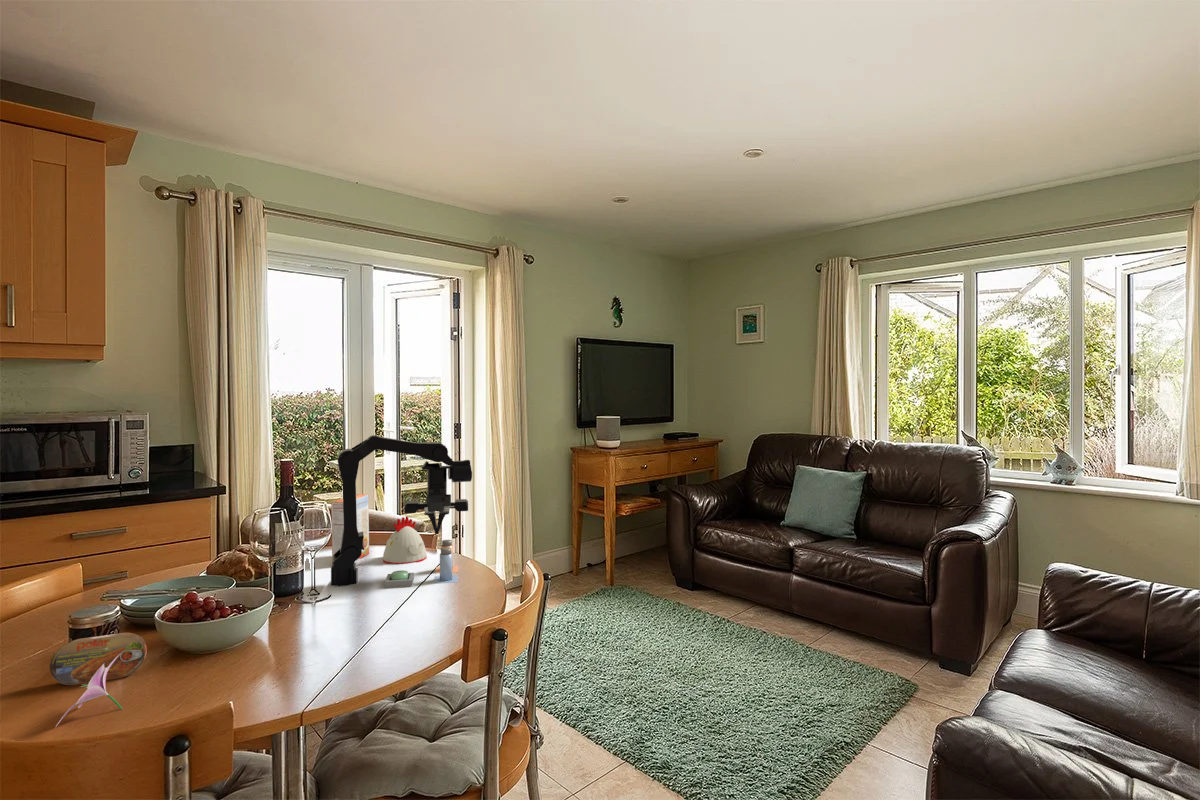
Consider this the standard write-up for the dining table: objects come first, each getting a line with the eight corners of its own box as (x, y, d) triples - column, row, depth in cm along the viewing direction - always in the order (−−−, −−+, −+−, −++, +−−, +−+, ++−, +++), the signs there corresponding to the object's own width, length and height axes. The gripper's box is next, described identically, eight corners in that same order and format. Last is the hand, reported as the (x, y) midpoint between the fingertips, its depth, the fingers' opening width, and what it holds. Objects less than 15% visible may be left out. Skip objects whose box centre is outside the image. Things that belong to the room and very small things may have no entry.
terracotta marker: (440, 571, 189) (440, 542, 188) (441, 568, 192) (441, 539, 192) (452, 570, 189) (452, 541, 189) (452, 567, 193) (453, 539, 193)
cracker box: (353, 553, 213) (353, 493, 212) (369, 554, 212) (369, 494, 211) (330, 565, 199) (330, 500, 198) (347, 565, 198) (347, 501, 197)
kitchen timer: (374, 563, 202) (374, 517, 201) (408, 553, 213) (408, 511, 213) (400, 570, 194) (401, 523, 193) (435, 560, 205) (435, 516, 205)
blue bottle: (439, 581, 179) (439, 550, 179) (440, 577, 182) (440, 547, 182) (452, 580, 179) (452, 550, 179) (452, 577, 183) (452, 547, 183)
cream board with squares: (383, 592, 173) (383, 581, 173) (391, 572, 191) (391, 562, 191) (463, 587, 177) (463, 577, 177) (463, 568, 196) (463, 559, 196)
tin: (48, 689, 117) (48, 645, 116) (55, 681, 119) (55, 639, 119) (144, 675, 123) (144, 633, 122) (148, 668, 125) (148, 627, 125)
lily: (118, 695, 116) (86, 657, 114) (164, 678, 114) (132, 639, 111) (60, 750, 105) (23, 709, 103) (109, 732, 103) (72, 689, 100)
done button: (390, 586, 174) (390, 575, 174) (392, 581, 179) (392, 570, 179) (407, 585, 175) (407, 574, 175) (408, 580, 180) (408, 570, 180)
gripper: (402, 488, 178) (402, 541, 178) (468, 486, 182) (468, 538, 182) (406, 482, 188) (406, 532, 189) (468, 481, 193) (467, 530, 193)
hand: (436, 533), depth 188 cm, fingers closed
